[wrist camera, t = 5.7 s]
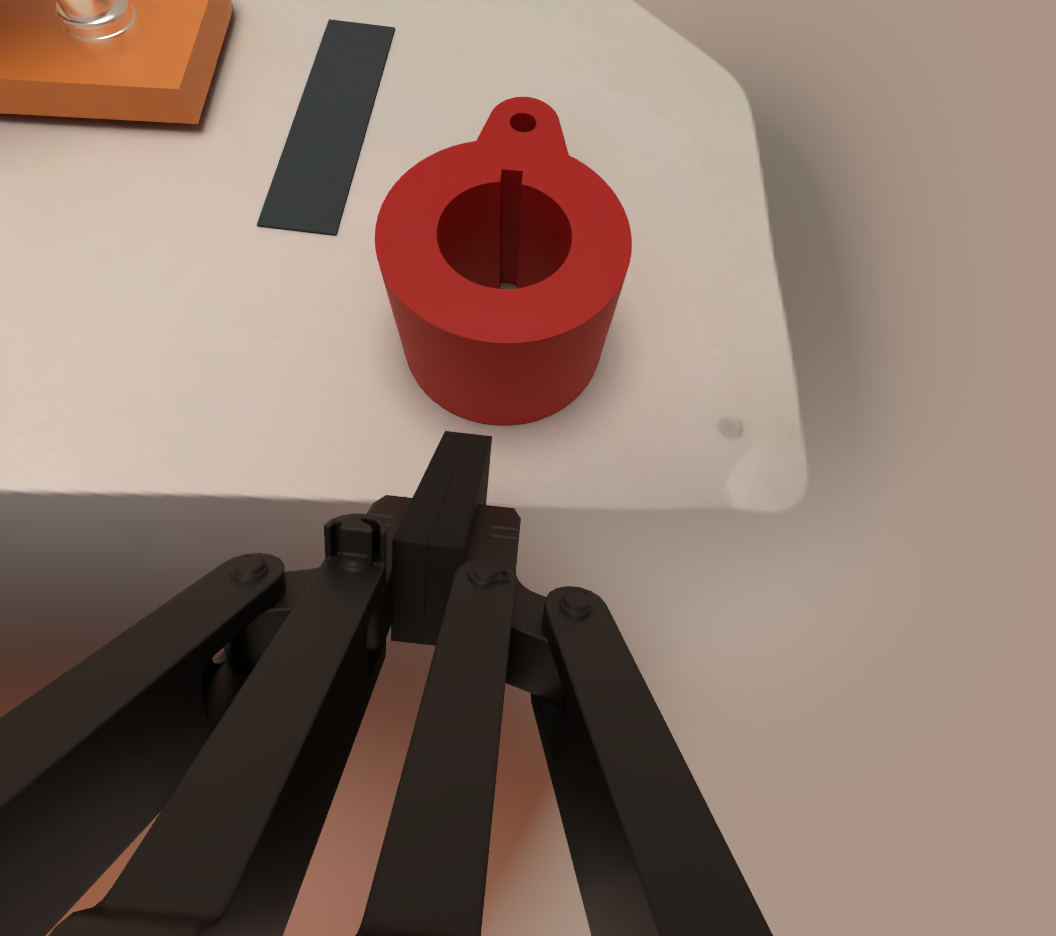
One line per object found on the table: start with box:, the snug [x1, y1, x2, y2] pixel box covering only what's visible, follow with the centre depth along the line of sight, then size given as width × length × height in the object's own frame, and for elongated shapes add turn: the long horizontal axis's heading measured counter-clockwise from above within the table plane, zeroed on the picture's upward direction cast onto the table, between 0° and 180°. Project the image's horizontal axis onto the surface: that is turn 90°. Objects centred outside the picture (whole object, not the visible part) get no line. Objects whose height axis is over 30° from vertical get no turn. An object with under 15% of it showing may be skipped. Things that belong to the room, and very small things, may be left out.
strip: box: [257, 20, 395, 235], centre depth 31 cm, size 4×16×1 cm, turn 174°
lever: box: [375, 97, 632, 425], centre depth 25 cm, size 18×9×7 cm, turn 176°
